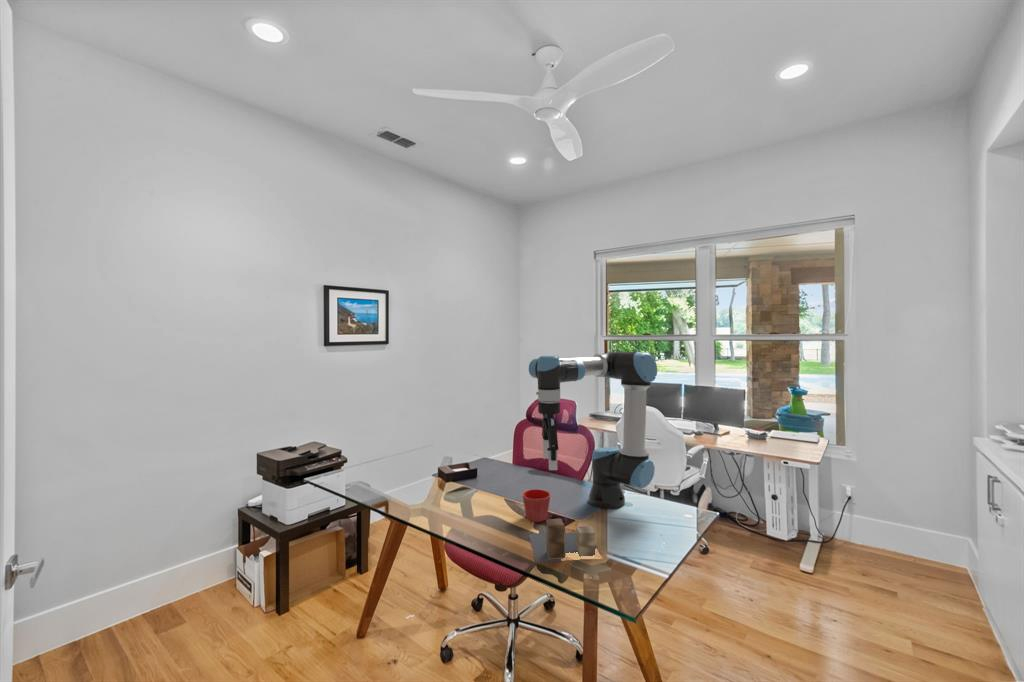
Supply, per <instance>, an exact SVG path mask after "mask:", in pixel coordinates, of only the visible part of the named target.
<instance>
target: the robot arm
mask: <svg viewBox="0 0 1024 682" xmlns="http://www.w3.org/2000/svg"><path fill="white" fill-rule="evenodd" d="M528 372H529V375H530V377H532V378H534V379H536V380H537V392H536V393H535V394H536V395H537V400H538V401H539V402H538V403H537V412H538V414H540V415H542V430H541V437H542V458H543V460H545V459H547V460H548V471H557V470H558V450H559V448H560V447H559V442H558V431H557V430H558V429H557V419H556V418H555V415H557V414H560V413H561V402H560V401H561V383H569V382H577V381H581V380H582V379H584V378H585V376H587V377H588V376H594V377H597V378H609V379H615V380H620V386H622V388H623V389H624V402H623V403H624V404H623V408H624V409H623V439H622V441H623V442H622V443H623V444H622V448H619V447H616V446H606V447H599V448H595V449H593V451H592V458H591V462H592V463H591V466H592V467H591V468H592V472H591V473H592V484H591V489H590V490H589V495H588V502H589V504H590V505H592V506H594V507H597V508H601V509H618V508H621V507H623V506H624V505H625V503H626V497H625V495H624V492H623V489H622V485H621V484H624V485H627V486H629V487H632V488H638V489H645V488H646V487H648V486H649V485H650V484H651V482H652V481H653V478H654V476H655V469H656V468H655V467H656V466H655V464H654V462H653V461H652V460H651V459H650V457H649V456H650V454H649V452H648V451H647V450H646V428H647V427H646V425H647V424H646V423H647V421H646V420H647V418H646V417H647V390H648V389H649V388H650V387H651V383H653V382H654V381H655V380H656V377H657V374H658V366H657V362H656V359H655V358H654V356H653V355H651V354H650V353H647V352H641V351H612V352H606V353H596V354H594V355H593V356H583V357H560V356H558V355H541V356H539V357H538V358H534V359H531V361H530V362H529V363H528Z"/></svg>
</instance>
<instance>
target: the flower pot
mask: <svg viewBox="0 0 1024 682" xmlns="http://www.w3.org/2000/svg"><path fill="white" fill-rule="evenodd" d="M522 501H523V505H524V511H525V515H526V519H527V520H528V521H530V522H534V523H540V522H544V521H545V520H546V519H548V518H547V517H548V513H549V507H550V501H551V493H550V492H549V491H547V490H544V489H529V490H525V491H523V493H522Z"/></svg>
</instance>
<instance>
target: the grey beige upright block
mask: <svg viewBox="0 0 1024 682" xmlns="http://www.w3.org/2000/svg"><path fill="white" fill-rule="evenodd" d="M575 532H576V550H577V552H578V554H579V556H580V557H581V556H593V555H595V544H596V537H595V536H596V533H595V532H596V531H594V529H593V527H592V525H585V526H583V525H580V526H576V527H575Z"/></svg>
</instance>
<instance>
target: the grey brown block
mask: <svg viewBox="0 0 1024 682" xmlns="http://www.w3.org/2000/svg"><path fill="white" fill-rule="evenodd" d="M545 522H546V523H545V524H546V534H547V554H548V557H549V560H550V559H563V558H565V548H564V533H565V523H564V522H563V518H546V521H545Z"/></svg>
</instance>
